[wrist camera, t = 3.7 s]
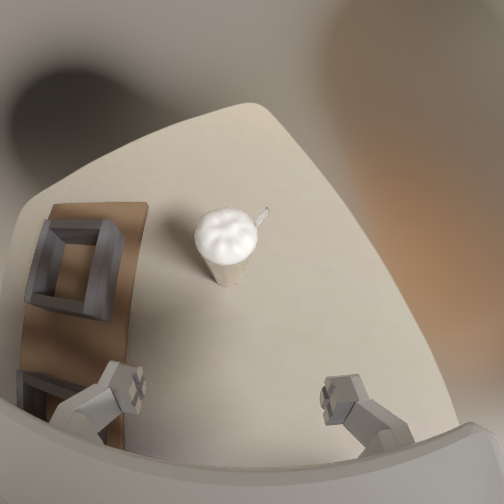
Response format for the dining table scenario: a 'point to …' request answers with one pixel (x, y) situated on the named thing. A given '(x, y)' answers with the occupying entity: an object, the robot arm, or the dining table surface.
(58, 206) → the port board
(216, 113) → the dining table surface
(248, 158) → the dining table surface
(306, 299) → the dining table surface
